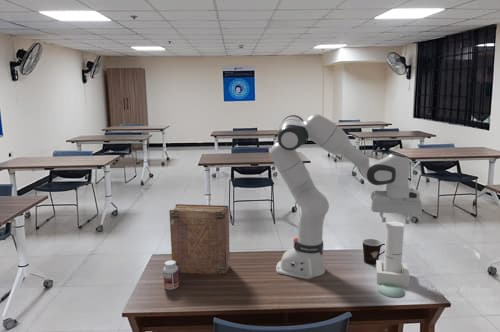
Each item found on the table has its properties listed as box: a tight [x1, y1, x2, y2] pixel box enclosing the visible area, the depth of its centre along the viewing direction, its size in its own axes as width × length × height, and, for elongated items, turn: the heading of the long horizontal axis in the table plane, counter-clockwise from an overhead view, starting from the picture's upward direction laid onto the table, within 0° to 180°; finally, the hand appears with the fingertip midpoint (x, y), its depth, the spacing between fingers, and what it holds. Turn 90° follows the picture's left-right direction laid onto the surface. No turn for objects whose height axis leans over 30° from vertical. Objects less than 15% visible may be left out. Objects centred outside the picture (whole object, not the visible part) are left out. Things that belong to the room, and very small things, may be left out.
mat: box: [378, 284, 405, 298], centre depth 163 cm, size 10×10×1 cm
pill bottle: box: [162, 259, 180, 290], centre depth 168 cm, size 6×6×11 cm
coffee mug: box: [362, 238, 385, 266], centre depth 190 cm, size 12×9×10 cm
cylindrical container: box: [383, 221, 405, 273], centre depth 172 cm, size 7×7×25 cm
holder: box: [375, 259, 411, 288], centre depth 174 cm, size 13×13×5 cm
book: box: [169, 203, 231, 276], centre depth 182 cm, size 25×9×30 cm, turn 82°
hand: (395, 222), depth 170 cm, fingers open, 8 cm apart
